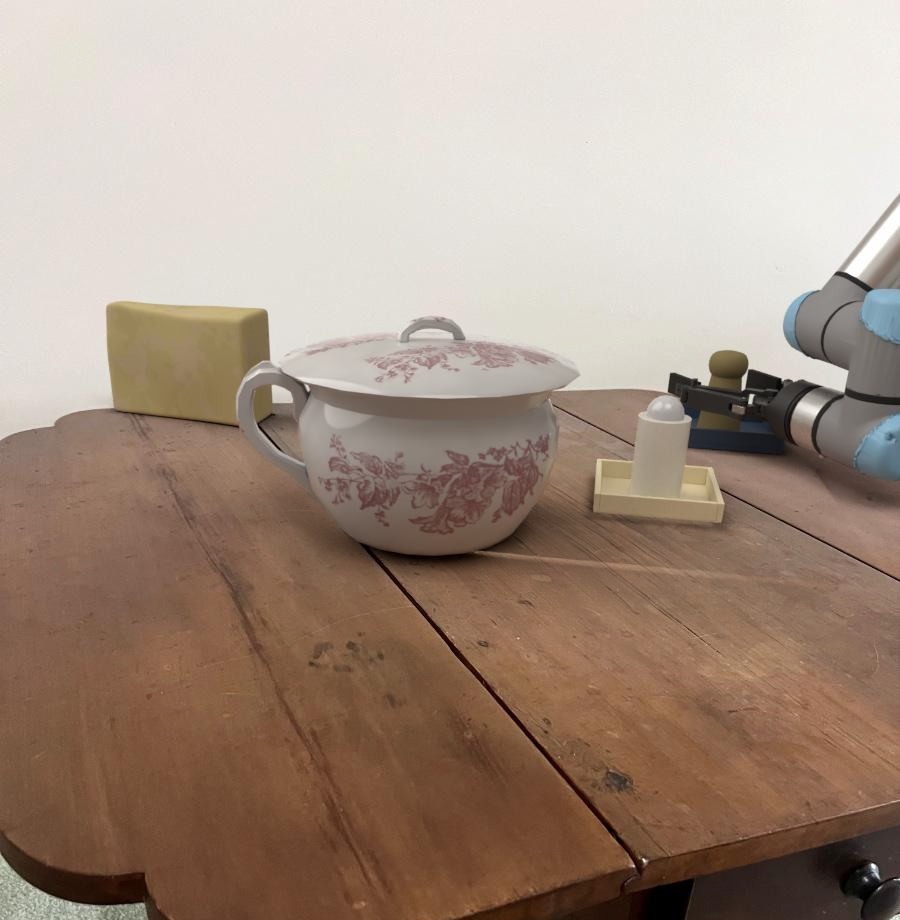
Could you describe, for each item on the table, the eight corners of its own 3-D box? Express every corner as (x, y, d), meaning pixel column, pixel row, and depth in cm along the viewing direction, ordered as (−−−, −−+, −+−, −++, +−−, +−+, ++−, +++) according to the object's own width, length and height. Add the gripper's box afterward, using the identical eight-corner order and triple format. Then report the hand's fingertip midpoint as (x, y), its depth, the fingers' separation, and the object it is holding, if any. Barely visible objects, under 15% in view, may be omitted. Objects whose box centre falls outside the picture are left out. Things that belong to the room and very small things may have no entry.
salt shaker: (678, 491, 104) (692, 392, 99) (681, 507, 99) (697, 403, 94) (628, 487, 104) (640, 388, 100) (629, 503, 99) (641, 399, 94)
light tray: (709, 488, 107) (712, 467, 106) (720, 527, 95) (724, 504, 94) (594, 479, 108) (597, 458, 107) (592, 517, 97) (594, 493, 96)
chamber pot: (611, 523, 95) (634, 315, 86) (470, 617, 74) (482, 356, 65) (393, 472, 109) (394, 288, 100) (222, 539, 88) (204, 314, 79)
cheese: (98, 418, 127) (83, 305, 120) (132, 402, 135) (119, 296, 129) (251, 430, 123) (243, 314, 117) (275, 413, 132) (270, 304, 126)
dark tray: (765, 426, 135) (768, 408, 134) (782, 454, 121) (785, 435, 120) (660, 418, 137) (662, 401, 136) (665, 445, 123) (667, 426, 122)
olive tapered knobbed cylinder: (709, 437, 125) (722, 355, 121) (688, 426, 131) (699, 347, 126) (748, 435, 127) (762, 354, 122) (725, 424, 132) (738, 346, 127)
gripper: (722, 454, 109) (631, 411, 127) (885, 441, 116) (777, 402, 134) (733, 390, 105) (637, 356, 124) (899, 382, 113) (786, 350, 131)
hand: (710, 380), depth 129 cm, fingers open, 12 cm apart
